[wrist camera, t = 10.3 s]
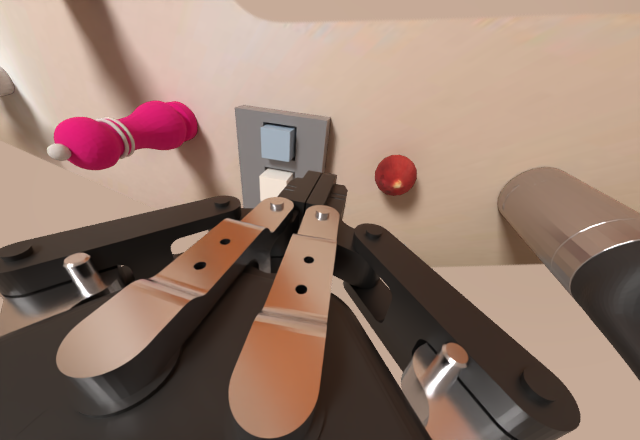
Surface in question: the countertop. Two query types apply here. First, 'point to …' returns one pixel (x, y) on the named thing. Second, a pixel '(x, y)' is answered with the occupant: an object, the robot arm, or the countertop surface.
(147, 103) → the pepper mill
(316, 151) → the board
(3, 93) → the house plant
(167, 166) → the countertop surface
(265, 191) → the white key
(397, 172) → the onion
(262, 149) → the blue key
